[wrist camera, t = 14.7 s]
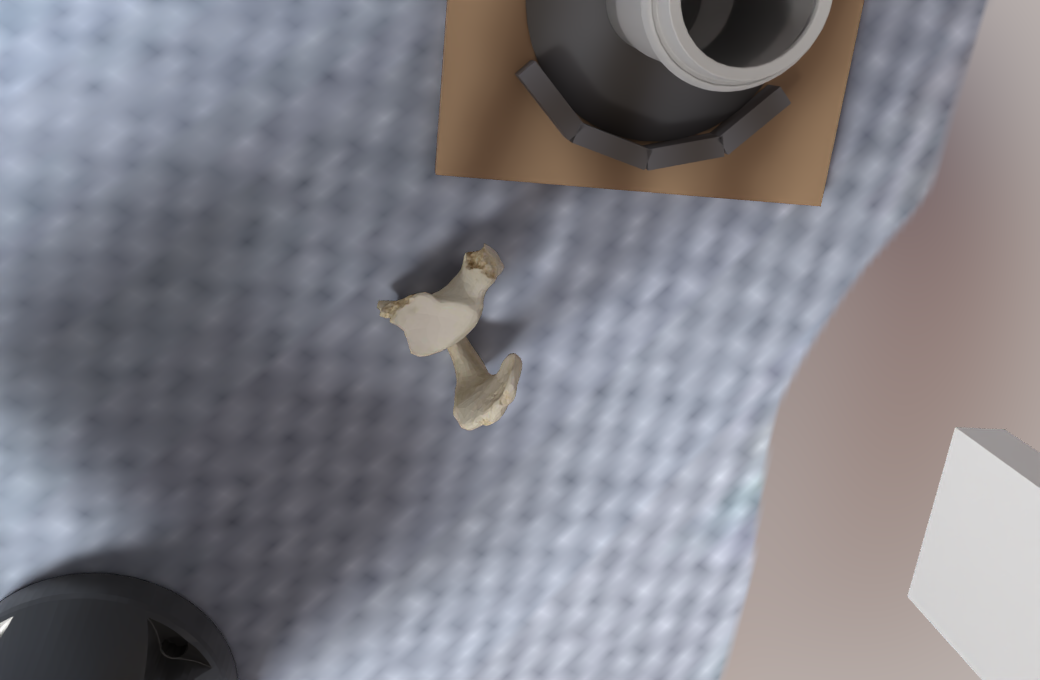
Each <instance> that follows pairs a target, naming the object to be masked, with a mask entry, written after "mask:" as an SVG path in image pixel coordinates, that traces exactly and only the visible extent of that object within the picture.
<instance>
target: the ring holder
mask: <svg viewBox="0 0 1040 680" xmlns="http://www.w3.org/2000/svg"><path fill="white" fill-rule="evenodd" d="M863 4H864V0H832V5H831V9H830V12H829V15H828V18H827V20H826V22H825V25H824V27H823V29H822V31H821V32H820V34H819V36H818V37H817V39H816V40H815V42H814V43H813V44H812V46H811V47H810V49H809V50H808V51H807V52H806V53H805V54H804V55H803V56H802V57H801V58H800V59H799V60H798V61H797V62H796V63H795V64H794V65H793V66H791V67H790V68H789V69H787V70H786V71H785V72H784V73H782V74H781V75H779V76H777V77H776V78H774V79H772V80H770V81H768V82H766V83H764V84H761V85H759V86H756V87H753V88H749V89H745V90H740V91H732V92H719V91H711V90H706V89H702V88H699V87H696V86H693V85H691V84H689V83H687V82H685V81H683V80H681V79H680V78H678V77H677V76H675V75H674V74H673V73H672V72H671V71H669V70H668V69H667V68H666V67H665V66H664V65H663V63H662V62H660V61H658V60H655V59H653V58H651V57H648V56H647V55H645V54H643V53H642V52H640V51H639V50H637V49H636V48H635V47H632V46H631V45H629V44H627V43H626V42H625V41H623V40H622V39H621V38H620V37H619V36H618V34H617V33H616V32H615V30H614V29H613V27H612V25H611V23H610V20H609V17H608V14H607V8H606V0H447V8H446V22H445V36H444V50H443V65H442V79H441V93H440V107H439V121H438V135H437V149H436V163H435V173H436V175H445V176H457V177H470V178H482V179H494V180H506V181H518V182H531V183H543V184H555V185H567V186H579V187H592V188H604V189H616V190H628V191H641V192H653V193H665V194H677V195H689V196H702V197H714V198H726V199H738V200H750V201H763V202H775V203H787V204H799V205H811V206H821V202H822V198H823V193H824V188H825V183H826V179H827V174H828V169H829V164H830V160H831V155H832V150H833V145H834V141H835V136H836V131H837V127H838V122H839V117H840V112H841V108H842V103H843V98H844V93H845V89H846V84H847V79H848V75H849V70H850V65H851V60H852V56H853V51H854V46H855V41H856V37H857V32H858V27H859V22H860V18H861V13H862V8H863Z"/></svg>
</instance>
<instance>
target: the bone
mask: <svg viewBox="0 0 1040 680" xmlns="http://www.w3.org/2000/svg"><path fill="white" fill-rule="evenodd" d="M503 269H504V265H503V263H502V262H501V260H500V258H499V256H498V254H497V252H496V251H495V250H494V249H492V248H491V247H490V246H488V245H486V244H485V243H484V247H483V248H482V249H481V250H479V251H476V252H474V251H473V252H467V253H465V255H464V260H463V264H462V267H461V269H460V271H459V273H458V274H457V275H456V276H455V277H454V278H453V279H452V280H451V281H450V283H449V284H448V285H447V286H445V287H444V288H443V289H441V290H440V291H437V292H435V293H433V294H429V293H427V292H420V293H417V294H412V295H409V296H407V297H406V298H404V299H401V300H398V301H378V305H377V308H378V309H379V310H380V317H384V318H390V322H391V323H393V324H395V325H397V326H398V327H399V328H401V329H402V330H403V331H404V333H405V336H406V338H407V341H408V345H409V348H410V352H411V353H412V354H414V355H416V356H418V357H424V356H429V355H432V354H435V353H438V352H440V351H442V350H445V349H448V351H449V353H450V356H451V358H452V361H453V364H454V367H455V371H456V378H457V384H456V388H455V398H454V401H455V402H454V409H453V415H454V417H455V418H456V420H457V421H458V423H459V425H460V426H461V428H463V429H466V430H474V429H476V428H478V427H480V426H482V425H486V426H488V425H490V424H493V423H495V422H496V421H498V420H499V419H500V418H501V416H502V415H503V414H504V412H505V410H506V408H507V406H508V405H509V404H510V403H511V402H512V401H513V400H514V398H515V395H516V390H517V384H518V381H519V378H520V374H521V370H522V361H521V358H520V357H519V356H518V355H516V354H514V353H513V354H509V355H508V356H507V357H506V358H505V359H504V361H503V362H502V364H501V367H500V370H499V371H498V373H497V374H495V375H491V374H489V373H488V371H487V369H486V367H485V365H484V363H483V361H482V360H481V358H480V357H479V355H478V354H477V353H476V351H475V350H474V348H473V347H472V345H471V344H470V342H469V340H468V339H467V337H466V335H467V334H468V333H469V332H471V330H472V329H473V328H474V327H475V326H476V324H477V323H478V321H479V318H480V317H481V315H482V310H483V300H484V296H485V293H486V291H487V289H488V288H489V287H490V286H491V285H492V284H493V283H494V282H495V280H496V278H497V276H498V275H500V274H501V272H502V270H503Z"/></svg>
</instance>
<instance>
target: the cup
mask: <svg viewBox="0 0 1040 680" xmlns="http://www.w3.org/2000/svg"><path fill="white" fill-rule="evenodd" d="M831 5H832V0H606V8H607V14H608V17H609V20H610V23H611V25H612V27H613V29H614V30H615V32H616V33H617V34H618V36H619V37H620V38H621V39H622V40H623V41H625V42H626V43H627V44H629V45H631V46H632V47H635V48H636V49H637V50H639V51H640V52H642V53H643V54H645V55H647V56H648V57H651V58H653V59H655V60H658V61H660V62H662V63H663V65H664V66H665V67H666V68H667V69H668V70H669V71H671V72H672V73H673V74H674V75H675V76H677V77H678V78H680V79H681V80H683V81H685V82H687V83H689V84H691V85H693V86H696V87H699V88H702V89H706V90H711V91H719V92H732V91H740V90H745V89H749V88H753V87H756V86H759V85H761V84H764V83H766V82H768V81H770V80H772V79H774V78H776V77H777V76H779V75H781V74H782V73H784V72H785V71H786V70H787V69H789V68H790V67H791V66H793V65H794V64H795V63H796V62H797V61H798V60H799V59H800V58H801V57H802V56H803V55H804V54H805V53H806V52H807V51H808V50H809V49H810V47H811V46H812V44H813V43H814V42H815V40H816V39H817V37H818V36H819V34H820V32H821V31H822V29H823V27H824V25H825V22H826V20H827V18H828V15H829V12H830V9H831Z"/></svg>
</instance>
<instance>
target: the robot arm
mask: <svg viewBox="0 0 1040 680" xmlns="http://www.w3.org/2000/svg"><path fill="white" fill-rule="evenodd" d="M908 598H909V599H910V600H911V601H912V602H913V603H914V604H915V606H916V607H917V608H918V609H919V610H920V611H921V612H922V613H923V615H924V616H925V617H926V618H927V619H928V620H929V621H930V622H931V623H932V625H933V626H934V627H935V628H936V629H937V630H938V631H939V633H941V635H942V636H943V637H944V638H945V639H946V640H947V641H948V643H949V644H950V645H951V646H952V647H953V648H954V649H955V650H956V652H957V653H959V655H960V656H961V657H962V658H963V659H964V660H965V662H966V663H967V664H968V665H969V666H970V667H971V668H972V669H973V671H974V672H975V673H976V674H977V675H978V676H979V677H980V678H981V680H1040V452H1038V451H1037V450H1035V449H1034V448H1032V447H1031V446H1029V445H1028V444H1026V443H1025V442H1023V441H1022V440H1020V439H1019V438H1017V437H1016V436H1014V435H1013V434H1011V433H1010V432H1008V431H1007V430H1005V429H985V428H962V427H955V431H954V434H953V437H952V441H951V444H950V448H949V451H948V455H947V458H946V462H945V465H944V469H943V472H942V476H941V479H940V483H939V487H938V490H937V494H936V497H935V501H934V504H933V508H932V512H931V515H930V518H929V522H928V526H927V529H926V533H925V536H924V540H923V543H922V547H921V550H920V554H919V557H918V561H917V564H916V568H915V571H914V575H913V578H912V582H911V586H910V589H909V593H908ZM0 680H237V672H236V667H235V662H234V659H233V656H232V653H231V651H230V649H229V646H228V644H227V643H226V641H225V639H224V637H223V636H222V634H221V633H220V631H219V630H218V629H217V627H216V626H215V625H214V624H213V623H212V622H211V620H210V619H209V618H208V617H207V616H206V615H205V614H204V613H202V612H201V611H200V610H199V609H198V608H197V607H195V606H194V605H193V604H191V603H190V602H188V601H187V600H186V599H184V598H182V597H181V596H179V595H177V594H175V593H173V592H171V591H169V590H167V589H165V588H163V587H161V586H158V585H155V584H153V583H150V582H147V581H143V580H140V579H136V578H132V577H127V576H121V575H113V574H99V573H87V574H73V575H66V576H60V577H56V578H51V579H48V580H44V581H41V582H38V583H35V584H32V585H30V586H28V587H25V588H23V589H21V590H19V591H17V592H15V593H13V594H12V595H10V596H8V597H7V598H5V599H4V600H2V601H1V602H0Z"/></svg>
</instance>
